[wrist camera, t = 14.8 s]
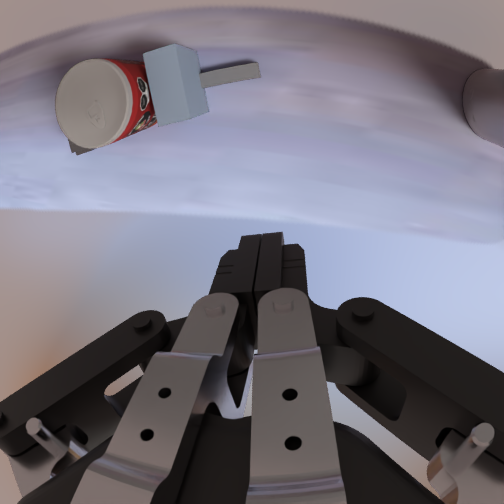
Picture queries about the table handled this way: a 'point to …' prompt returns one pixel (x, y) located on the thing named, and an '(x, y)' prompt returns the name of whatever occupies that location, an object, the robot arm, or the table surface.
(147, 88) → the canned food
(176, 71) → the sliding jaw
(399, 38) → the table surface
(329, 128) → the table surface
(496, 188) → the table surface
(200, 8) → the table surface
